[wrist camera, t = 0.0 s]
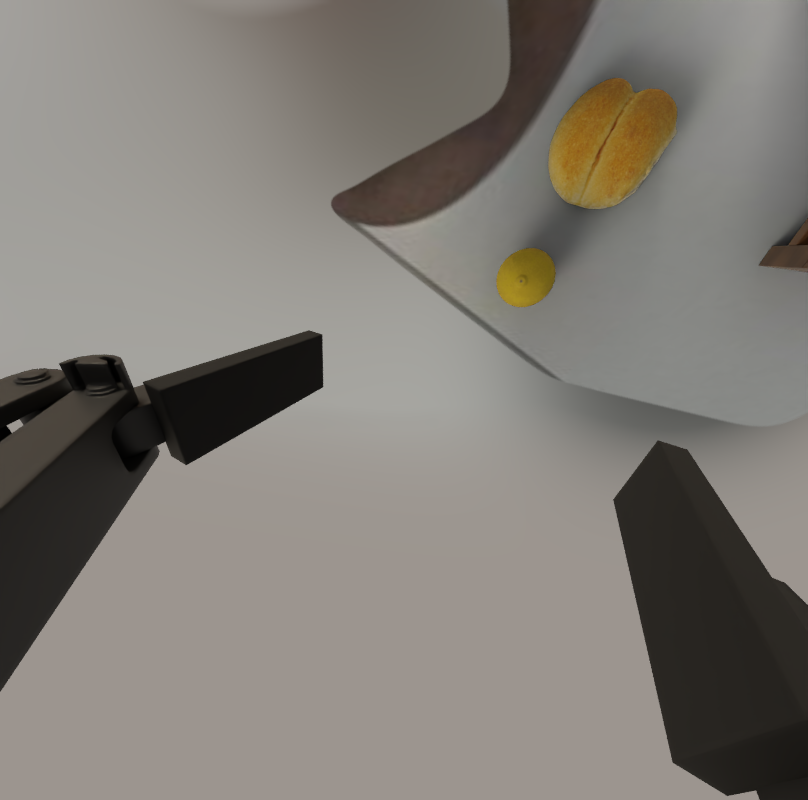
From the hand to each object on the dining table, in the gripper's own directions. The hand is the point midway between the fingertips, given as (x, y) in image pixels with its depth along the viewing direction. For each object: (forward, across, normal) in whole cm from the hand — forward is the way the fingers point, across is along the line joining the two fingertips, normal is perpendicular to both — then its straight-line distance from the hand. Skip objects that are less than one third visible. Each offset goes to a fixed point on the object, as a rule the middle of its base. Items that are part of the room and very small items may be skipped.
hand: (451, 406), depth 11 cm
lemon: (+28, 0, +3) cm, 28 cm away
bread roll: (+28, +3, +14) cm, 32 cm away
